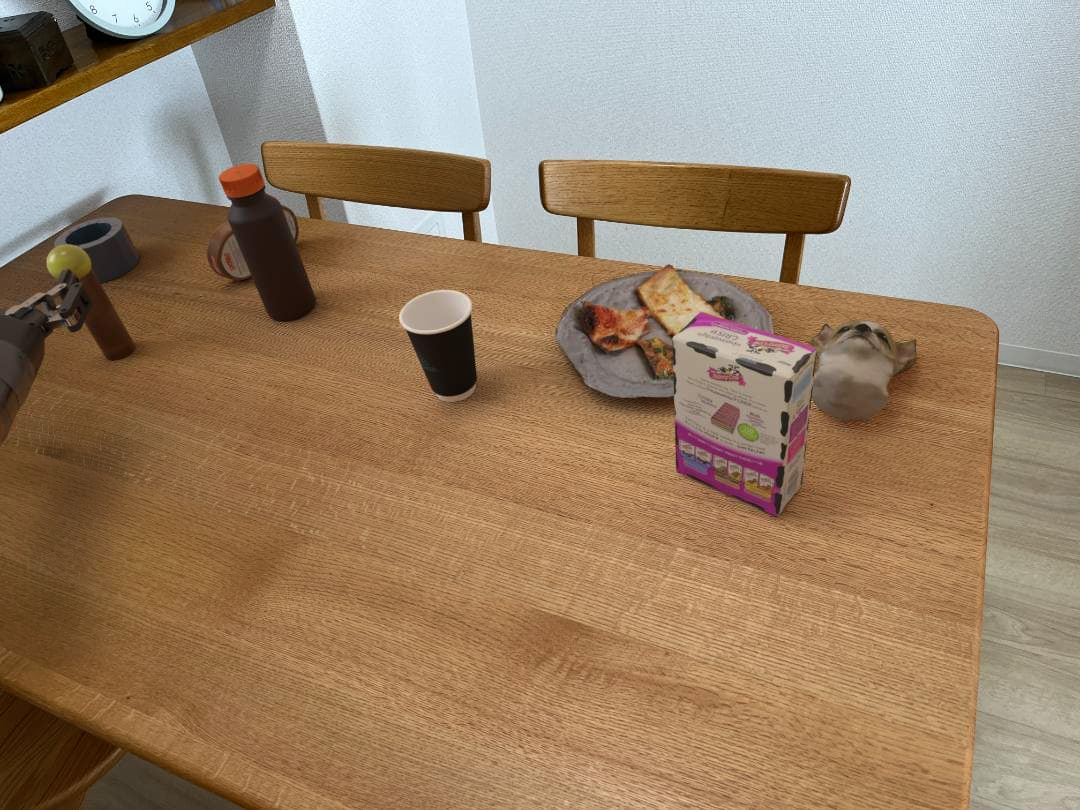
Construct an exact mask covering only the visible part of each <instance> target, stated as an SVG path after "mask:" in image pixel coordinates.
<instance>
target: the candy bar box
mask: <svg viewBox="0 0 1080 810" xmlns="http://www.w3.org/2000/svg"><path fill="white" fill-rule="evenodd" d="M774 334H775V333H774ZM774 334H771V333H768V332H765V331H761V330H758V329H755V328H752V327H749V326H745V325H742V324H739V323H736V322H733V321H730V320H726V319H723V318H720V317H717V316H713V315H710V314H707V313H704V312H700V313H699V314H698V315H696V316H695V317H694V318H693V319H692V320H691V321H690V322H689V324H688V325H686V326H685V327H684V328H683V329H682V330H680V331H679V332H678V333H677V334H676V335H675V336H674V337H673V338H672V348H673V378H674V395H673V406H674V408H673V410H674V415H673V416H674V445H675V446H674V447H675V471H676V472H677V473H679V474H681V475H682V476H683V475H684V476H686V477H688V478H690V479H692V480H694V481H697V482H699V483H702V484H703V485H706V486H708V487H709V488H710V487H711V488H712V489H715V490H717V491H719V492H722V493H724V494H726V495H729V496H731V497H733V498H735V499H738V500H740V501H741V502H744V503H746V504H748V505H751V506H753V507H755V508H757V509H759V510H762V511H764V512H766V513H769V514H770V515H773V516H775V517H777V518H779V517H780V516H781V514H782V513H783V511H784V510H785V509H786V507H787V506H788V504H789V503H790V502H791V501H792V500H793V498H794V497H795V496H796V495H797V494H798V492H799V490H800V489H801V488H802V486H803V479H804V469H805V461H806V453H807V452H806V451H807V441H808V434H809V424H810V415H811V407H812V390H813V380H814V374H815V373H816V372H815V370H816V362H817V356H816V354H817V348H816V347H813V346H811V344H806V343H803V342H800V341H797V340H793V339H790V338H786V337H784V336H781V335H777V334H775V335H774Z"/></svg>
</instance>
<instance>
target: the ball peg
mask: <svg viewBox="0 0 1080 810" xmlns="http://www.w3.org/2000/svg"><path fill="white" fill-rule="evenodd" d="M46 268H47V270H48V273H49V274H50V275H51V276H52V277H53V278H54V279H55V280H56V281H57V280H58V278H59V276H60V274H61V271H62V270H66V269H70V270H71V271H72V272H75V274H76V276H77V277H78V279H79V281H80V282H81V283H82V284H83V285H84V287H85V289H86V291H87V292H88V294H89V296H90V297H91V299H92V301H93V305H92V307H91V309H90V311H89V313H88V315H87V317H86V320H85V322H84V324H85V326H86V328H87V329H88V331H89V333H90V335H91V336H92V338H93V340H94V341H95V343H96V345H97V346H98V348H99V350H100V351H101V353H102V354H103V356H104V357H105V359H106V360H108V361H117V360H121V359H123V358H126V357H128V356H130V355H131V354H132V353H133V352H134V351H135V349H136V343H135V342H134V340H133V338H132V336H131V335H130V332H129V331H128V329H127V327H126V326H125V324H124V322H123V321H122V319H121V317H120V315H119V314H118V312H117V310H116V308H115V306H114V304H113V303H112V301H111V300H110V298H109V296H108V295H107V292H106V291H105V289H104V287H103V286H102V283H100V282H99V280H98V279H97V277H96V275H95V273H94V272H93V270H92V268H91V260H90V258H89V256H88V254H87V253H86V252H85V251H84V250H83V249H81V248H79V247H77V246H75V245H70V244H65V245H60V246H57V247H55V246H54V247H53V248H52V249H51V250H50V251H49V253H48V255H47V257H46Z"/></svg>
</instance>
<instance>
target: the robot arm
mask: <svg viewBox="0 0 1080 810" xmlns="http://www.w3.org/2000/svg"><path fill="white" fill-rule="evenodd" d="M57 298H60V300H61V301H62V302H61V304H58V305H57V304H56V303H55V299H57ZM39 305H40V306H41V307H42V308H43V310H44V312H45V313H44V312H43V311H41V309H39V308H38V306H39ZM92 305H93V301H92V299H91V297H90V296H89V294H88V292H87V291H86V289H85V287H84V285H83V284H82V283H81V282H80V281H79V279H78V277H77V276H76V274H75V272H72V271H71V270H70V269H66V270H62V271H61V274H60V276H59V278H58V280H57V279H56V282H55V284H54V287H52V288H51V289H49V290H48V291H47V292H37V293H35V294H33V295H32V296H31V297H29V298H28V299H26V300H24V301H23V302H22V303H20V304H19V305H18V304H16V305H13V306H11V307H7V308H6V307H5V308H1V309H0V448H1V446H2V445H3V444H4V442H5V441H6V438H8V435H9V432H10V431H11V428H12V426H13V423H14V422H15V419H16V417H17V414H18V412H19V411H20V409H22V407H23V405H24V404H25V403H26V400H27V398H28V396H29V393H31V389H32V387H33V384H34V382H35V380H36V378H37V375H38V373H39V370H40V368H41V366H42V364H43V361H44V358H45V351H46V350H45V347H46V346H45V342H46V341H45V340H46V339H47V338H48V337H50V336H51V335H52V334H53V332H54V330H56V329H61V328H65V327H66V328H67V330H68V331H69V332H70V333H72V334H73V333H76V332H79V331H80V330H81V329H82V328H83V326H84V324H85V323H84V322H85V320H86V317H87V315H88V313H89V311H90V309H91V307H92Z"/></svg>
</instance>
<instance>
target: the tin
mask: <svg viewBox="0 0 1080 810" xmlns="http://www.w3.org/2000/svg"><path fill="white" fill-rule="evenodd" d="M281 206H282V209H283V211H284V214H285V217H286V219H287V222H288V225H289V227H290V230H291V233H292V235H293V238H294V241H295V243H296V244H297V242H298V239H299V233H300V229H299V223H298V219H297V217H296V213H294V211H293V210H292V209H291V208H289V207H288V206H286V205H284V204H281ZM206 259H207V262H208V265H209V267H210V268H211V270H212V271H213V272H214V273H215V274H216V275H218V276H220V277H222V278H226V279H228V280H232V281H238V282H239V281H240V282H241V281H246V280H248V279H250V278H252V276H251V274H250V271H249V269H248V267H247V264H246V262H245V260H244V257H243V255H242V253H241V250H240V248H239V246H238V243H237V241H236V238H235V236H234V234H233V231H232V229H231V227H230V224H229V222H228V220H227V221H225V222H223V223H222V224H220V225H219V226H218V227H216V229H215V230H214V231H213V232H212V233H211V235H210V237H209V239H208V241H207V245H206Z"/></svg>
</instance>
